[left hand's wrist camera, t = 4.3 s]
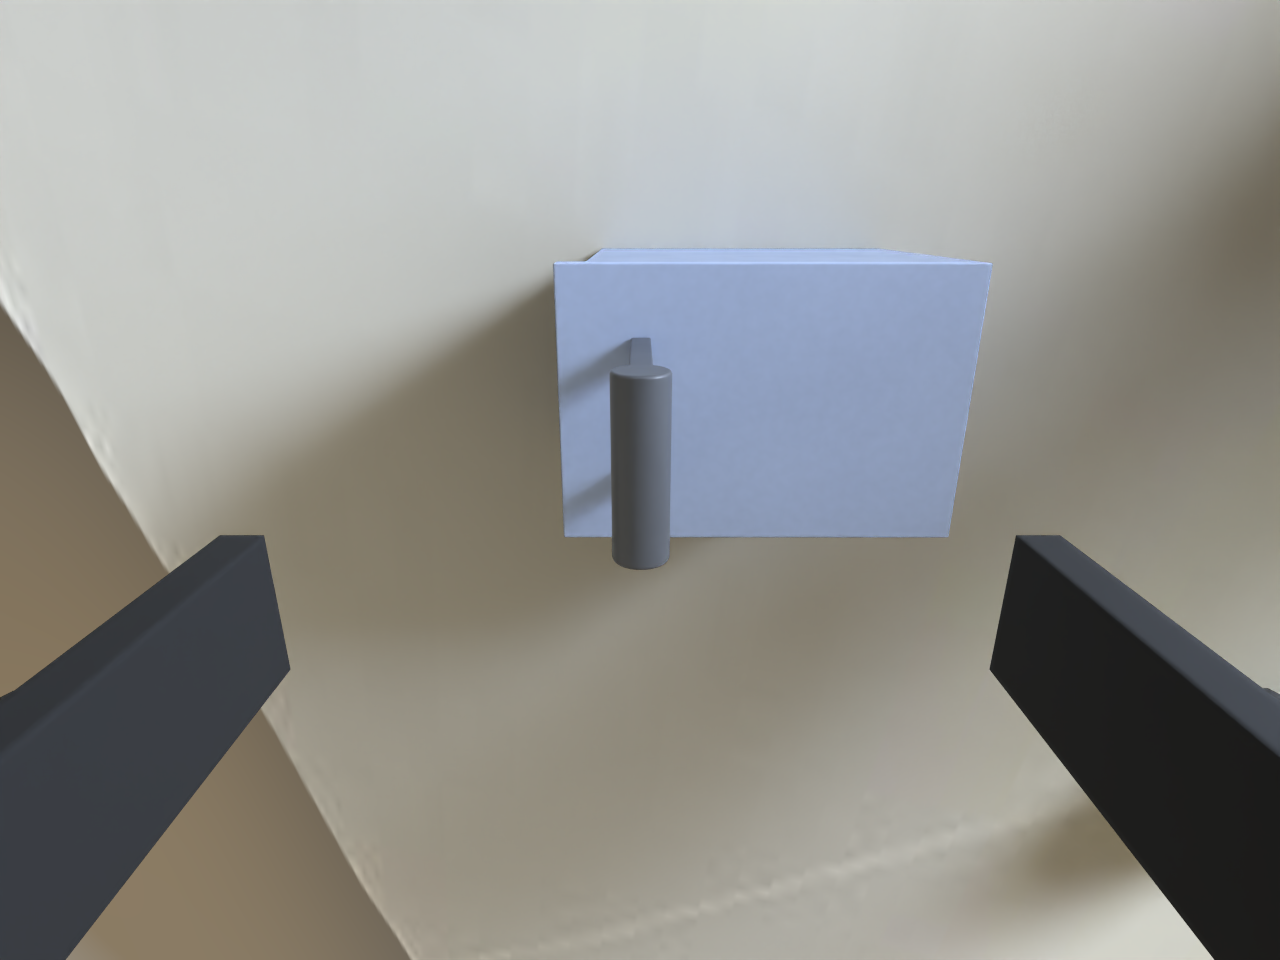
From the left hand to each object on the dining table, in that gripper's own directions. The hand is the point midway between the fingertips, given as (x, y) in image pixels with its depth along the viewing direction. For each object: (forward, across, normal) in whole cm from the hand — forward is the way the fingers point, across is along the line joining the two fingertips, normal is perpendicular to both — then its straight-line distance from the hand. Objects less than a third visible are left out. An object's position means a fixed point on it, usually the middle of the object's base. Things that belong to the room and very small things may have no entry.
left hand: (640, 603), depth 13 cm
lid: (+15, +4, 0) cm, 16 cm away
